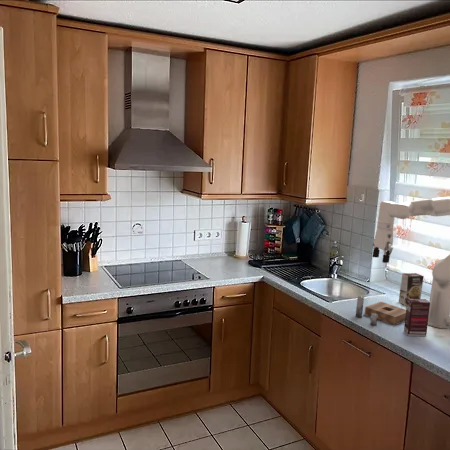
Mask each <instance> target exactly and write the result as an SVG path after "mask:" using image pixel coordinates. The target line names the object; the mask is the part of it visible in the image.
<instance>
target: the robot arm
mask: <svg viewBox="0 0 450 450" xmlns="http://www.w3.org/2000/svg"><path fill="white" fill-rule="evenodd" d="M417 216H418V217H419V216H431V217H445V216H450V196H444V197H433V198H429V199H428V198H427V199H419V200H409V201H408V200H407V201H404V202H401V203H397V202H395V201H392V200H381V201H380V204H379V210H378V216H377V224H376V232H375V234H374V235H375V236H374V238H373V239H372V246H373V247H372V249H373V251H372V257H373V258H379V257H380V251H381V250H382V251H383V254H382V261H381V262H382V263H383V264H385V263H386V264H389V263H390V256H391V254H392V252H393V249H394V247H393V244H394V243H393V242H394V223H395V218H397V219H399V220H406V219H409V218H410V217H417ZM431 275H432V282H431V288H430V296H429V300H428V301H429V302H430V308H429V317H428V325H427V326H430V327H433V328H437V329H450V254H448V256H446V257H444V258H441V259H439V260H437V261H436V263H435V264H434V266H433V268H432V270H431Z"/></svg>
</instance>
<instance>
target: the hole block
mask: <svg viewBox="0 0 450 450" xmlns="http://www.w3.org/2000/svg"><path fill="white" fill-rule="evenodd" d="M372 313H375V314H378V320H379V321H382V322H384V323H387V324H390V325H393V326H396V325H399V324H401V323H403V322H405V316H406V309H405V308H402V307H399V306H395V305H393V304H390V303H386V302H383V301H379V302H375V303H372V304H370V305H367V306H365V308H364V316H365V315H366V316H369V317H370V318H371V314H372Z"/></svg>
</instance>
